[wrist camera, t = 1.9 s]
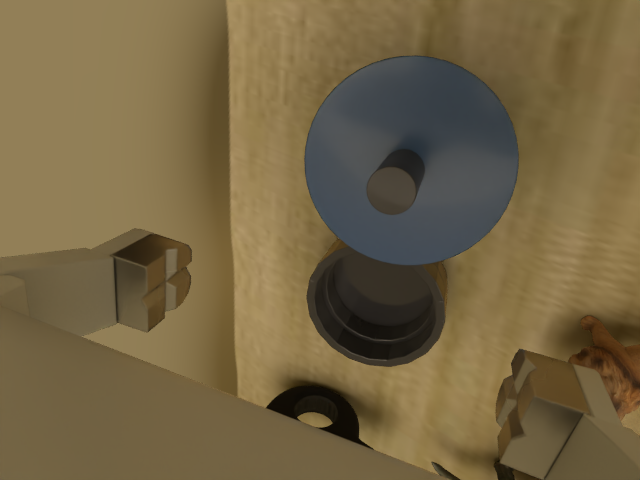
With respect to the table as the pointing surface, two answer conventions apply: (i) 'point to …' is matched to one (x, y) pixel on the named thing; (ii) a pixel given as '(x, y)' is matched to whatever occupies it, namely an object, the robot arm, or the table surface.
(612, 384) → the lion figurine
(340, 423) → the controller
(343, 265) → the pan
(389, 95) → the lid
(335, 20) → the table surface
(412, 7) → the table surface
